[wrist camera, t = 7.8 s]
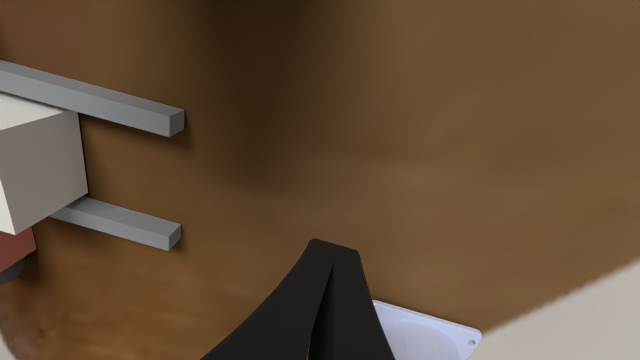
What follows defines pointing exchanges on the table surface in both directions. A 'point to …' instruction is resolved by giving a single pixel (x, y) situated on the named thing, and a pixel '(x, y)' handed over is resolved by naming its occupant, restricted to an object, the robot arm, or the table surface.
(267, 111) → the table surface
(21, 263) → the forklift
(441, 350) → the robot arm
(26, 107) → the white block
